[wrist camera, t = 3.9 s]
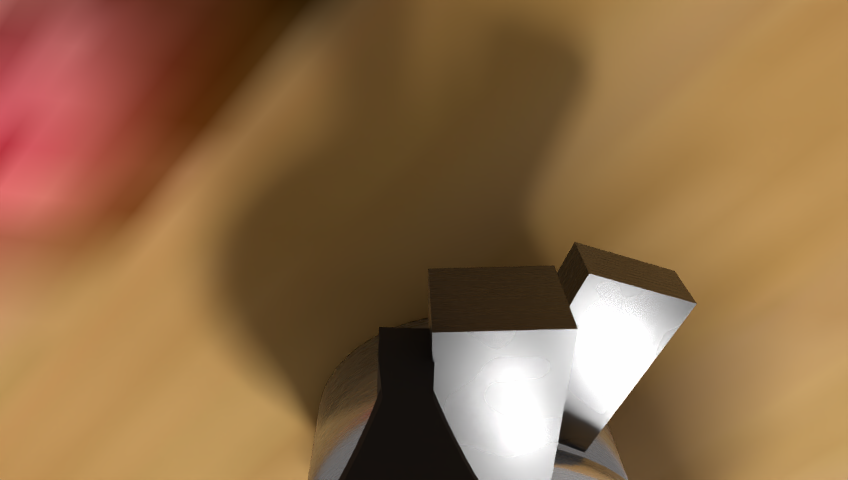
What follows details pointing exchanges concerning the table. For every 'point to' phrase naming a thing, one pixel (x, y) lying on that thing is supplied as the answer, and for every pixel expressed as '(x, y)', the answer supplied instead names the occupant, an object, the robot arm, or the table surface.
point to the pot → (590, 371)
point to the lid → (506, 370)
